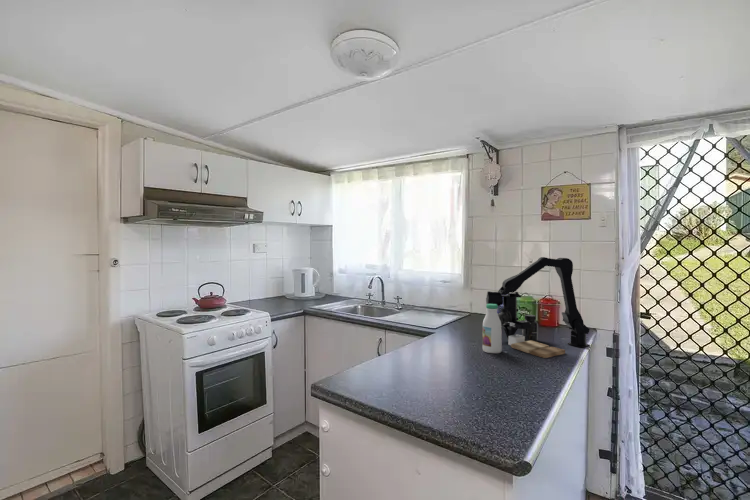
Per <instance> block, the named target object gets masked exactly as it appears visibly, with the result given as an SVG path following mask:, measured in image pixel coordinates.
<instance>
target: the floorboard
mask: <svg viewBox="0 0 750 500" xmlns="http://www.w3.org/2000/svg"><path fill="white" fill-rule="evenodd" d="M529 354H530V355H532V356H536V357H540V358H543V359H547V358H552V357H556V356H561V355H565V354H566V349H563V348H559V347H557V346H556V347H554V346H549V347H547V348H542V349H537V350H532V352H530V353H529Z"/></svg>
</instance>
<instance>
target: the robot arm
mask: <svg viewBox="0 0 750 500" xmlns="http://www.w3.org/2000/svg"><path fill="white" fill-rule="evenodd" d="M545 267H552V268H555V271H556V273H557V276H558V277H559V279H560V284H561V290H562V294H563V295H562V296H563V301H564V306H565V309H564V312H561V315H562V322H564V324H565V326H567V327H568V329H569V331H570V342H567V345H570V346H573V347H577V348H581V349H582V348H586V347H591V346H590V344H588V343H587V335H589V333H590V330H591V329H590V328H588V326H586V324H585V322H584V319H583V317H582V314H581V312H580V311H579V309H578V307H577V301H576V296H575V292H574V291H575V290H574V284H573V280H572V275H573V272H574V263H573V261H572V259H570V258H567V257H558V258H557V259H556V258H551V257H550V258H549V257H544V256H542V257H538V259H537V260H535V261H534V262H532V264H530V265H528V266H527V267H525V268H524V269H523V270H522V271H520V272H519V273H517V274H515V275H513V276H510V277H508V278H506V279H504V280H503V282H502V283H501V284H502V286H501V287H500V288H499V290H497V291H489V290H488V291H487V293H486V298H485V301H486V304H497V305H498V307H500V306H503V308H501V309H500V312H497V314H498V316H499V319H500V321H501V328H502V329H504V333H505V335H506V336H505V337H506V338H507V340H508V336H511V335H516V333H517V331H518V329H519V330H522V329H527V328H531V323H530V322H528V321H524V320H525V319H524V320H519V317H517V312H519V308H517V298H522V295H520V293H519V291H518V290H519V289H520V288H521V286H522V285H523V283H524V282H525V281H527V280H528V279H530V278H532V276H533V275H535V274H536V273H538V272H540V271H541V270H543V268H545Z"/></svg>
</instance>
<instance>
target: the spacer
mask: <svg viewBox="0 0 750 500" xmlns="http://www.w3.org/2000/svg"><path fill="white" fill-rule="evenodd" d="M507 340H508V343H507V344H508V346H511V344H514V343H519V342H525V341H524V340H525V336H522V334H516V333H515V334H514V335H511V336H508V339H507Z"/></svg>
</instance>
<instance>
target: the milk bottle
mask: <svg viewBox="0 0 750 500" xmlns="http://www.w3.org/2000/svg"><path fill="white" fill-rule="evenodd" d="M485 307H486V308H485V310H486V313H485V315H484V318H483V321H482V351H483V352H485V353H488V354H500V353H502V351H503V350H502V347H503V345H502V342H503V341H502V340H503V338H502V337H503V336H502V335H503V334H502V326H501V321H500V319H499V316H498V308H499V306H498V305H497V304H486V305H485Z"/></svg>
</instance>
